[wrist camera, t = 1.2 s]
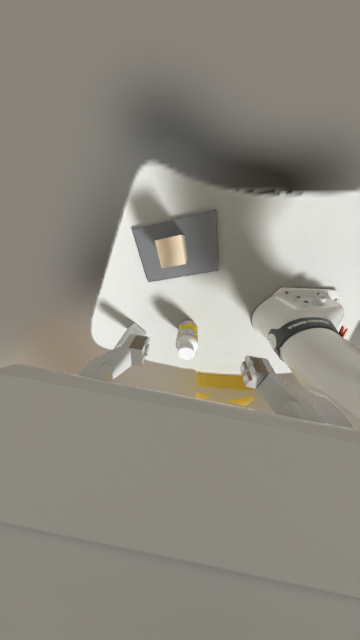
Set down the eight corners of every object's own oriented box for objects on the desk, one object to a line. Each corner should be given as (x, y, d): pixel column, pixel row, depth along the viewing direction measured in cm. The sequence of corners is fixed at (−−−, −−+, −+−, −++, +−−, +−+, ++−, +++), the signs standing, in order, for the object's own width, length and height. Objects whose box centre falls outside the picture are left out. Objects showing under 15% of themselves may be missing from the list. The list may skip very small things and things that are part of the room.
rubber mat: (215, 210, 31) (215, 209, 30) (217, 269, 37) (218, 270, 36) (134, 230, 34) (132, 230, 33) (149, 281, 41) (148, 282, 40)
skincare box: (127, 328, 51) (110, 351, 41) (134, 321, 49) (118, 343, 39) (140, 338, 53) (127, 362, 42) (147, 332, 51) (135, 356, 41)
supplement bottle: (190, 337, 50) (189, 365, 39) (175, 329, 49) (169, 355, 38) (201, 325, 47) (203, 351, 36) (185, 316, 46) (181, 340, 35)
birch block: (184, 235, 33) (181, 234, 24) (188, 257, 35) (185, 264, 27) (165, 239, 34) (154, 240, 25) (169, 261, 36) (161, 268, 28)
